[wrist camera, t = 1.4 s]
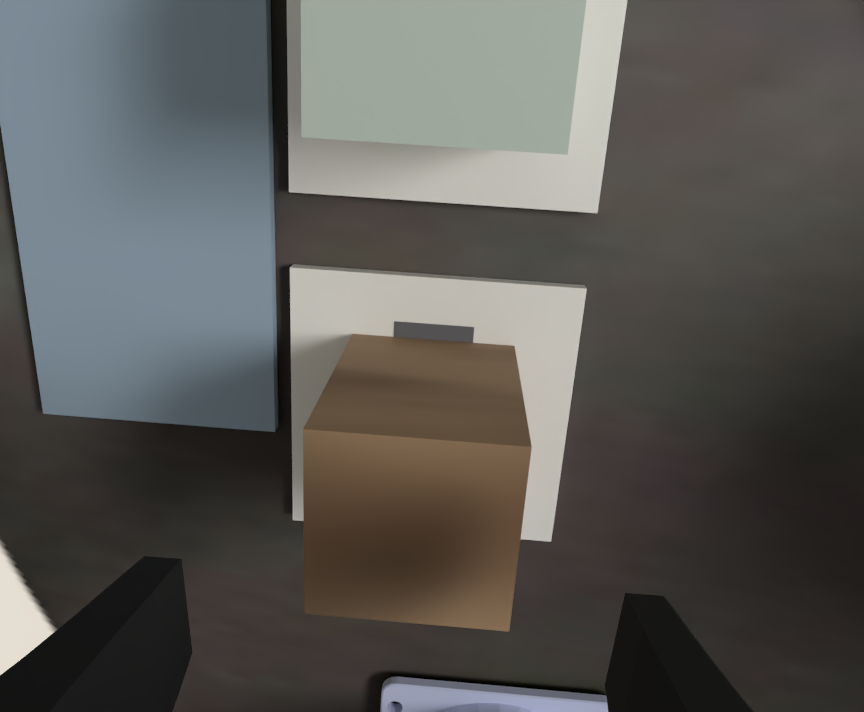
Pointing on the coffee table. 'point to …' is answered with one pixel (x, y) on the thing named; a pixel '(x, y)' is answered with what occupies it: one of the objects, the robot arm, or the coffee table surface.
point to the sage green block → (441, 72)
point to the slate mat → (145, 205)
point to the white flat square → (465, 167)
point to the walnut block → (416, 484)
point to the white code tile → (449, 321)
